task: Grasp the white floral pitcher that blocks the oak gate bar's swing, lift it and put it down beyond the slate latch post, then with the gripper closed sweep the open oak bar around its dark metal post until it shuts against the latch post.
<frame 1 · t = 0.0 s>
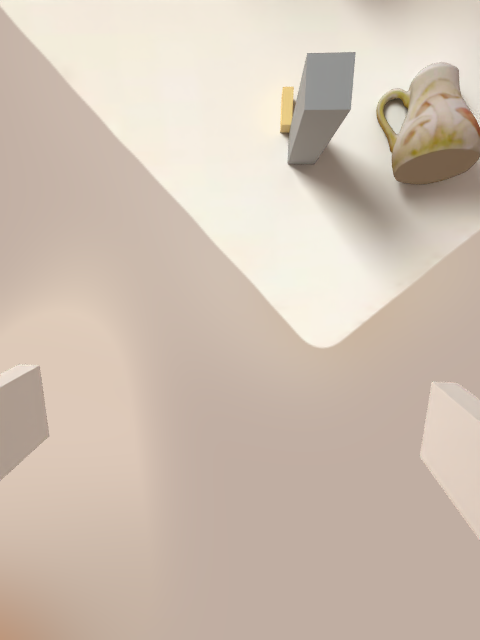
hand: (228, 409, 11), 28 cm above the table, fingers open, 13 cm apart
white floral pitcher: (414, 133, 34), on the table
latch post: (301, 148, 34), on the table
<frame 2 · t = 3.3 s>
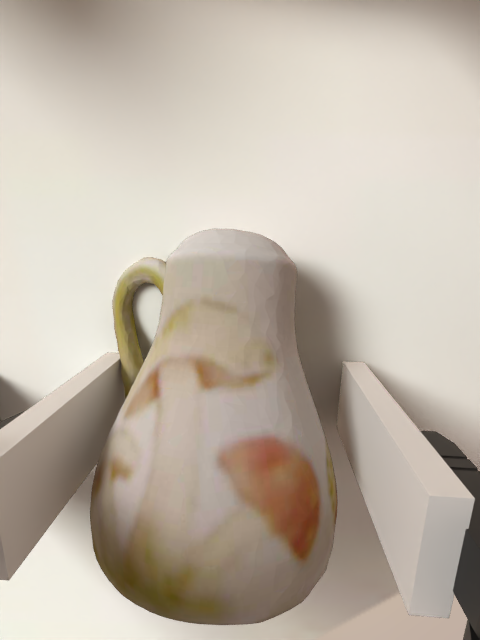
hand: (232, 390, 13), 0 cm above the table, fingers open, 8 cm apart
white floral pitcher: (223, 358, 13), on the table, touching gripper
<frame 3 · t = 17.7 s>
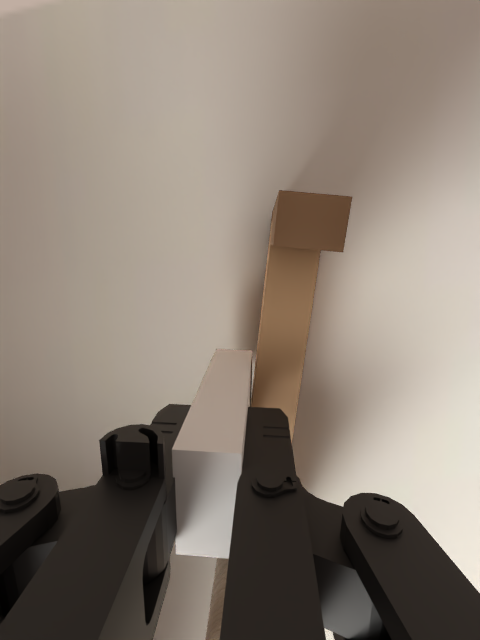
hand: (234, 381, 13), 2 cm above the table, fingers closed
gate: (274, 405, 12), point 3 cm above the table, hinge at 80.0°, touching gripper
hinge post: (251, 534, 17), on the table
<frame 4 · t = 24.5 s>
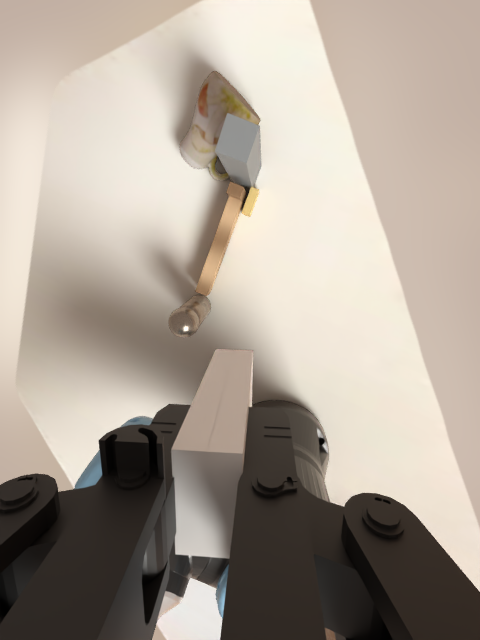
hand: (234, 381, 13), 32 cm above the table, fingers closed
gate: (219, 243, 41), point 3 cm above the table, hinge at -0.4°
hinge post: (199, 306, 46), on the table
white floral pitcher: (219, 138, 41), on the table
latch post: (246, 173, 42), on the table
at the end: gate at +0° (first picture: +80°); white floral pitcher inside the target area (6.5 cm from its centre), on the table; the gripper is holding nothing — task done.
